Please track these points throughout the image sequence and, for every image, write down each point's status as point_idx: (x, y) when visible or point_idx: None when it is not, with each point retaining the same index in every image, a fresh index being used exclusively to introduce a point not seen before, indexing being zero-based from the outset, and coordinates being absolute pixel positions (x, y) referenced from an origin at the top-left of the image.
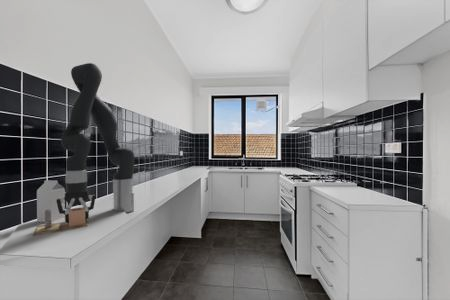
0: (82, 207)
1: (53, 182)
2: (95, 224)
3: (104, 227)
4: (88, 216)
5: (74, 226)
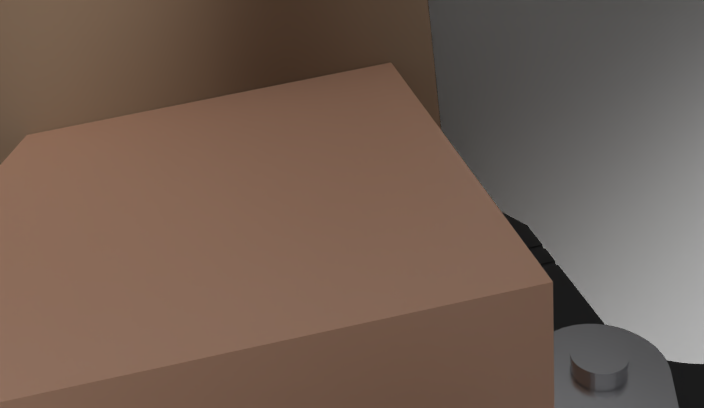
0: (446, 354)
1: None
2: (579, 157)
3: None
4: None
5: None
